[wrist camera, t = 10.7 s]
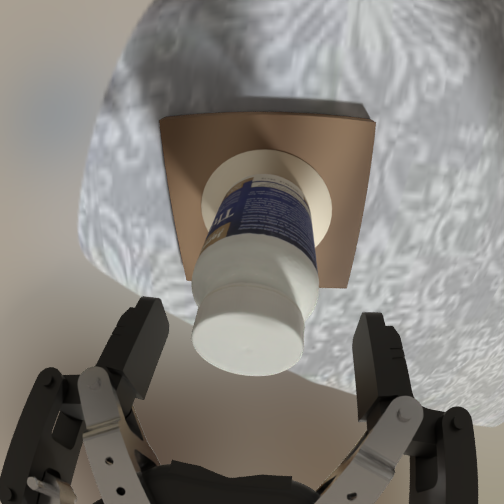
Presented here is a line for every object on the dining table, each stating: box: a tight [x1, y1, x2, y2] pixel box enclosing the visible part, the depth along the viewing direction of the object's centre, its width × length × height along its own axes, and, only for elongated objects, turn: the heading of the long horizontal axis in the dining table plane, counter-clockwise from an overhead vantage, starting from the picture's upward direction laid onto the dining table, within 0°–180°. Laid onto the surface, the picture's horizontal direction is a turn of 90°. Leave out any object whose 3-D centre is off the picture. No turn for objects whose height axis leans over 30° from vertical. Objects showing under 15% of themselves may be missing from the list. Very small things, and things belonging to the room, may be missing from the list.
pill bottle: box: [192, 174, 319, 376], centre depth 14 cm, size 5×5×10 cm
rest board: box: [159, 112, 376, 288], centre depth 18 cm, size 12×12×1 cm
